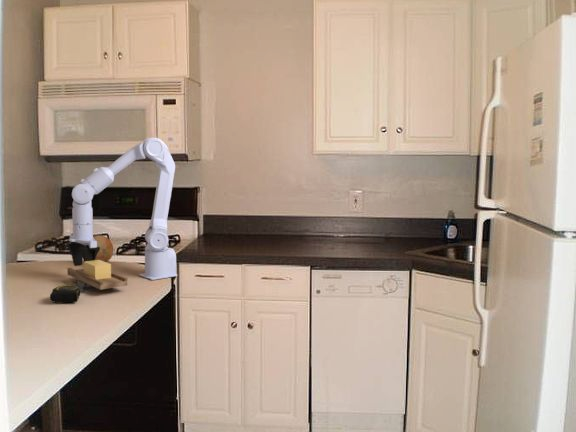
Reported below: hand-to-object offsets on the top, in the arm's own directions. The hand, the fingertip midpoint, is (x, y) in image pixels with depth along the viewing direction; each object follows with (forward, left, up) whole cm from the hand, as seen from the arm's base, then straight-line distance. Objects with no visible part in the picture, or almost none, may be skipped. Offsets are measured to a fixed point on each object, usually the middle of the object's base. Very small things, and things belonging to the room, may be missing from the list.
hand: (83, 267), depth 162 cm
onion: (-14, -19, -4) cm, 24 cm away
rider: (0, +10, -1) cm, 10 cm away
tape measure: (+13, +19, -4) cm, 23 cm away
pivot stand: (0, +9, -4) cm, 10 cm away
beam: (0, +9, -2) cm, 9 cm away
